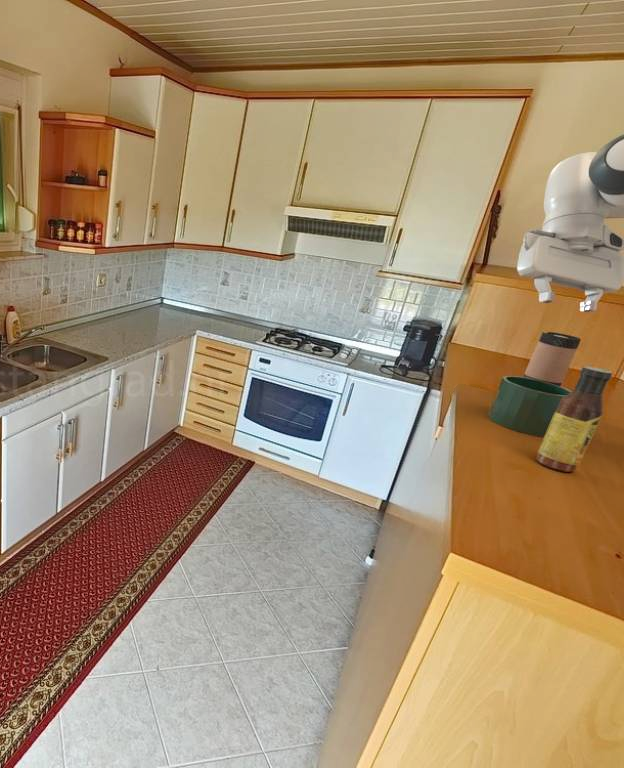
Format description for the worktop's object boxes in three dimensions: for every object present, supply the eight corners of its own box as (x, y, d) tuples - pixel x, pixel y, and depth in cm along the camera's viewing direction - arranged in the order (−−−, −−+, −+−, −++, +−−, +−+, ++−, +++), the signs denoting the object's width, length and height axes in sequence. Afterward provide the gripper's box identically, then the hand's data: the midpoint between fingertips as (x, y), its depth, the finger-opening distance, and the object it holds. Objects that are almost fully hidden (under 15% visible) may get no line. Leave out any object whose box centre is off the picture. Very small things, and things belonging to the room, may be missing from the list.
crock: (548, 424, 119) (566, 385, 115) (564, 443, 108) (584, 401, 104) (483, 408, 124) (498, 372, 121) (492, 425, 113) (509, 385, 110)
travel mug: (553, 416, 124) (588, 341, 117) (518, 409, 127) (550, 335, 120) (540, 407, 131) (572, 335, 124) (507, 400, 133) (537, 329, 126)
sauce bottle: (578, 477, 91) (628, 378, 84) (537, 466, 94) (582, 369, 87) (570, 464, 97) (616, 370, 90) (531, 454, 99) (572, 361, 93)
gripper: (542, 220, 90) (538, 291, 89) (633, 243, 93) (630, 312, 92) (510, 233, 97) (505, 300, 95) (596, 254, 100) (592, 319, 98)
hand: (567, 306), depth 94 cm, fingers open, 8 cm apart
